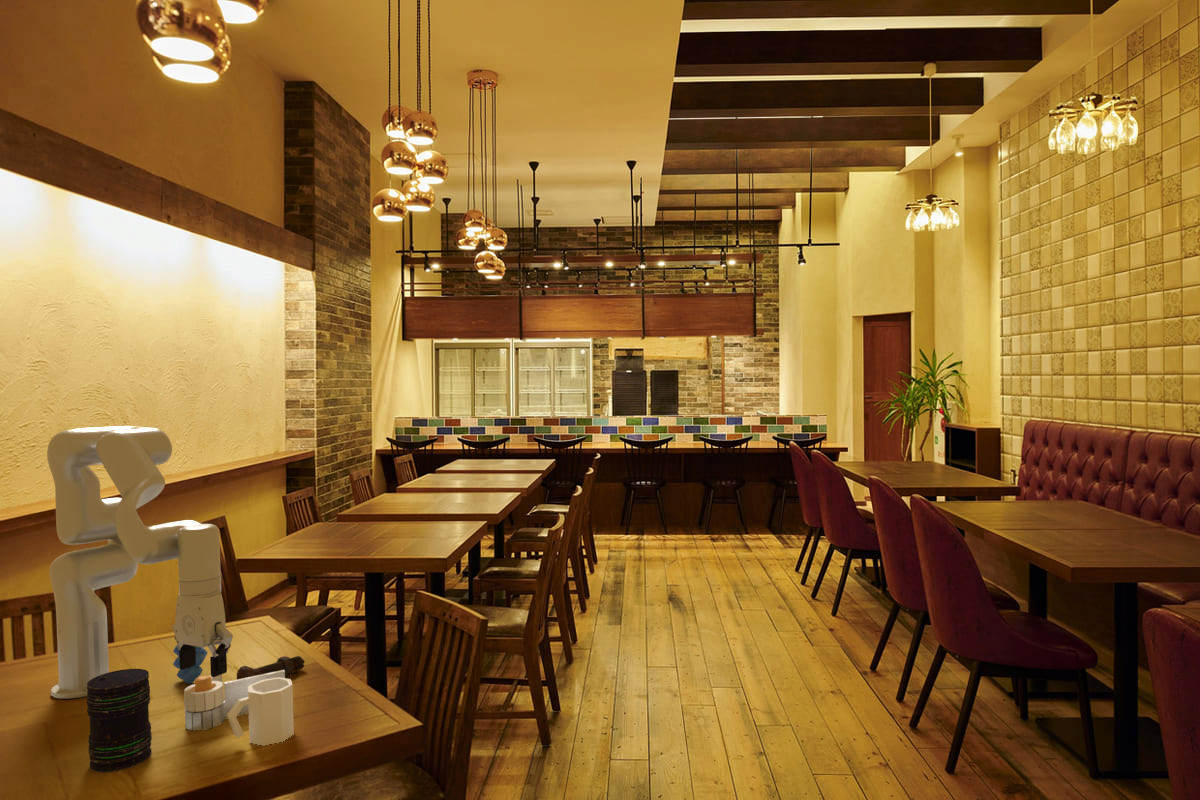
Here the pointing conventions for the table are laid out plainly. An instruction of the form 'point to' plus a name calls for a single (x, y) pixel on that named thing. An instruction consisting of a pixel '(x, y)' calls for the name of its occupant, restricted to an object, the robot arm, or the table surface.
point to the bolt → (273, 667)
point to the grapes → (191, 672)
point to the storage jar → (119, 720)
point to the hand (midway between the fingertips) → (203, 671)
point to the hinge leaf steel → (226, 702)
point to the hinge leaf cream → (204, 696)
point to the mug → (266, 711)
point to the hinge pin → (203, 683)
